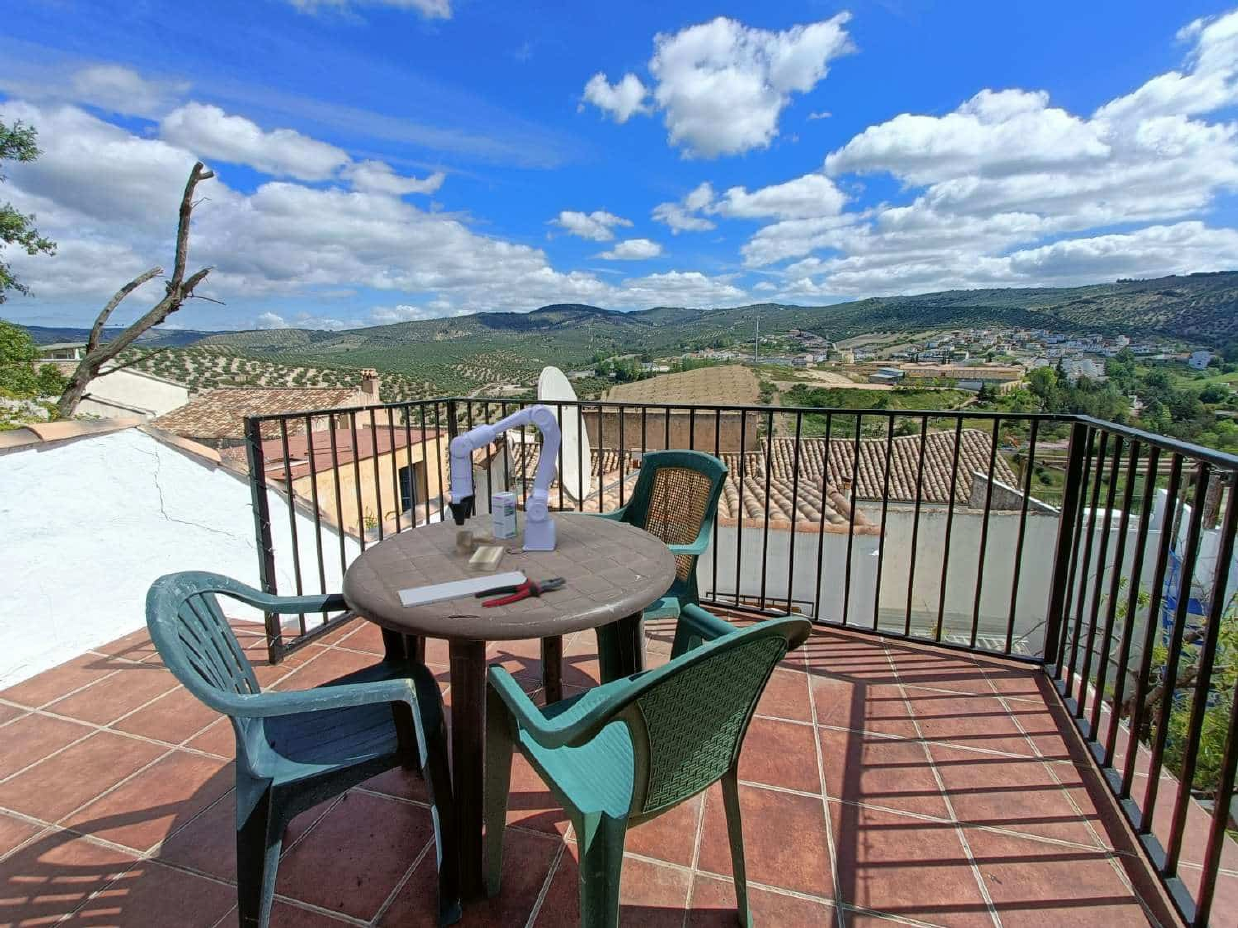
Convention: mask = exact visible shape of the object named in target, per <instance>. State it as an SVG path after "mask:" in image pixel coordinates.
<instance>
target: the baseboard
mask: <svg viewBox="0 0 1238 928" xmlns="http://www.w3.org/2000/svg"><path fill="white" fill-rule="evenodd" d="M515 570H516V571H512V572H511V571H510V572H506V573H500V574H494V575H493V574H492V575H487V576H480V577H476V578H469V579H463V580H457V581H451V582H445V583H439V584H434V585H433V584H432V585H427V586H421V587H420V586H419V587H414V588H409V589H404V590H403V589H402V590H398V591H397V592H396V594H397V596H398V595H399V596H398V597H400V598H399V600H401V601H400V602H402V603H401V605H402V607H408V606H413V605H419V606H422V605H421V604H425V605H427V604H426V603H430V604H433V603H432V602H436V603H439V602H438V601H441V602H445V601H452V600H453V601H454V600H457V599H462V597H464V598H468V597H467V596H469V597H475V594H476V593H478V592H480V591H484V590H488V589H492V588H497V587H502V586H509V585H518V584H523V583H524V582H525V581H526V579H527V574H526V571H525V570H524V569H520V568H519V570H518V567H517V568H516V569H515ZM520 571H521V572H520ZM522 573H523V574H522ZM524 574H525V575H524ZM529 580H530V581H532V578H530V577H529ZM408 608H409V607H408Z"/></svg>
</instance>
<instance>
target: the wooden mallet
mask: <svg viewBox="0 0 1238 928" xmlns="http://www.w3.org/2000/svg"><path fill="white" fill-rule="evenodd" d="M455 539H456V544H455V545H456V555H471V554H472V553H473V551H474V544H491V545H492V544H495V543H496V537H474V532H473V530H471V531H469V530H467V531H466V530H462V531H460V530H459V531H458V532H457V533H456V534H455Z"/></svg>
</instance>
